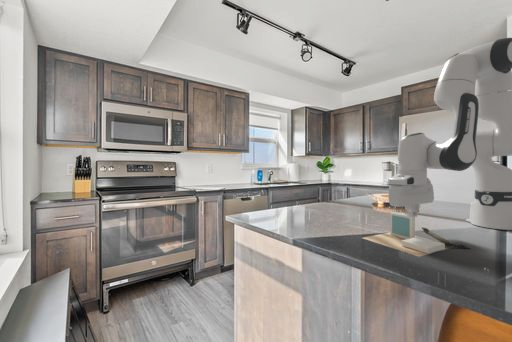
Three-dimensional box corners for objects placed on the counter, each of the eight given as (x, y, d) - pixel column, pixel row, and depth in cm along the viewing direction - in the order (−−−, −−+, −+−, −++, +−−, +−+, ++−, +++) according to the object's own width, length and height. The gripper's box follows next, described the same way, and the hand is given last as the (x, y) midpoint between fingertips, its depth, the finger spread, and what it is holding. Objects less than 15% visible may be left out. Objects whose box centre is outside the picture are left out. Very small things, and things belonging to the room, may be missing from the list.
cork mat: (396, 231, 94) (396, 230, 94) (456, 247, 76) (456, 246, 76) (361, 239, 87) (361, 237, 87) (419, 258, 69) (419, 256, 69)
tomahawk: (471, 251, 73) (472, 247, 73) (445, 247, 75) (446, 244, 75) (438, 232, 94) (438, 229, 94) (418, 229, 95) (419, 226, 95)
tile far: (393, 233, 91) (393, 212, 91) (415, 239, 84) (414, 216, 83) (390, 234, 90) (389, 212, 90) (411, 240, 83) (411, 216, 83)
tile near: (417, 236, 81) (401, 240, 78) (444, 243, 74) (428, 248, 70) (417, 242, 81) (401, 245, 78) (444, 249, 74) (428, 254, 70)
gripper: (421, 177, 96) (421, 212, 96) (384, 179, 87) (385, 218, 87) (439, 177, 90) (439, 215, 90) (401, 180, 81) (402, 221, 82)
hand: (412, 216), depth 89 cm, fingers closed
